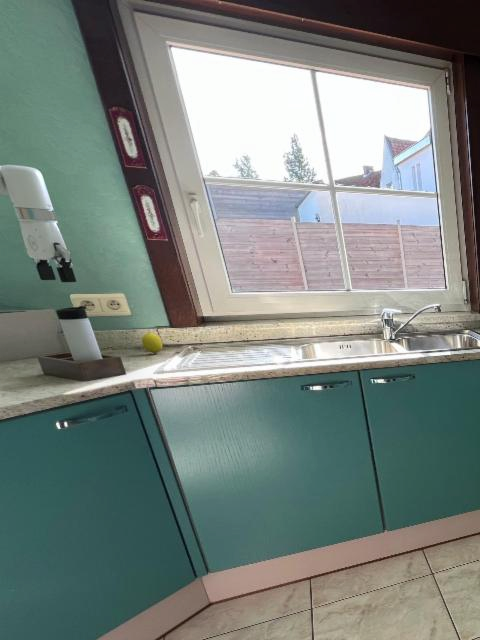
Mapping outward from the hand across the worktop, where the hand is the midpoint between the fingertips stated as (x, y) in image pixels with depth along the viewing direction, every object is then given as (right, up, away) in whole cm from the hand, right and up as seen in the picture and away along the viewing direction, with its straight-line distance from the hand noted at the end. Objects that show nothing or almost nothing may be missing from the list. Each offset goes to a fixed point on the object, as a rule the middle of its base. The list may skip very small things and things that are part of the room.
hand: (58, 281), depth 143 cm
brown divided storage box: (-4, -25, +12) cm, 28 cm away
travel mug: (0, -26, +10) cm, 27 cm away
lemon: (-10, -13, +42) cm, 45 cm away
